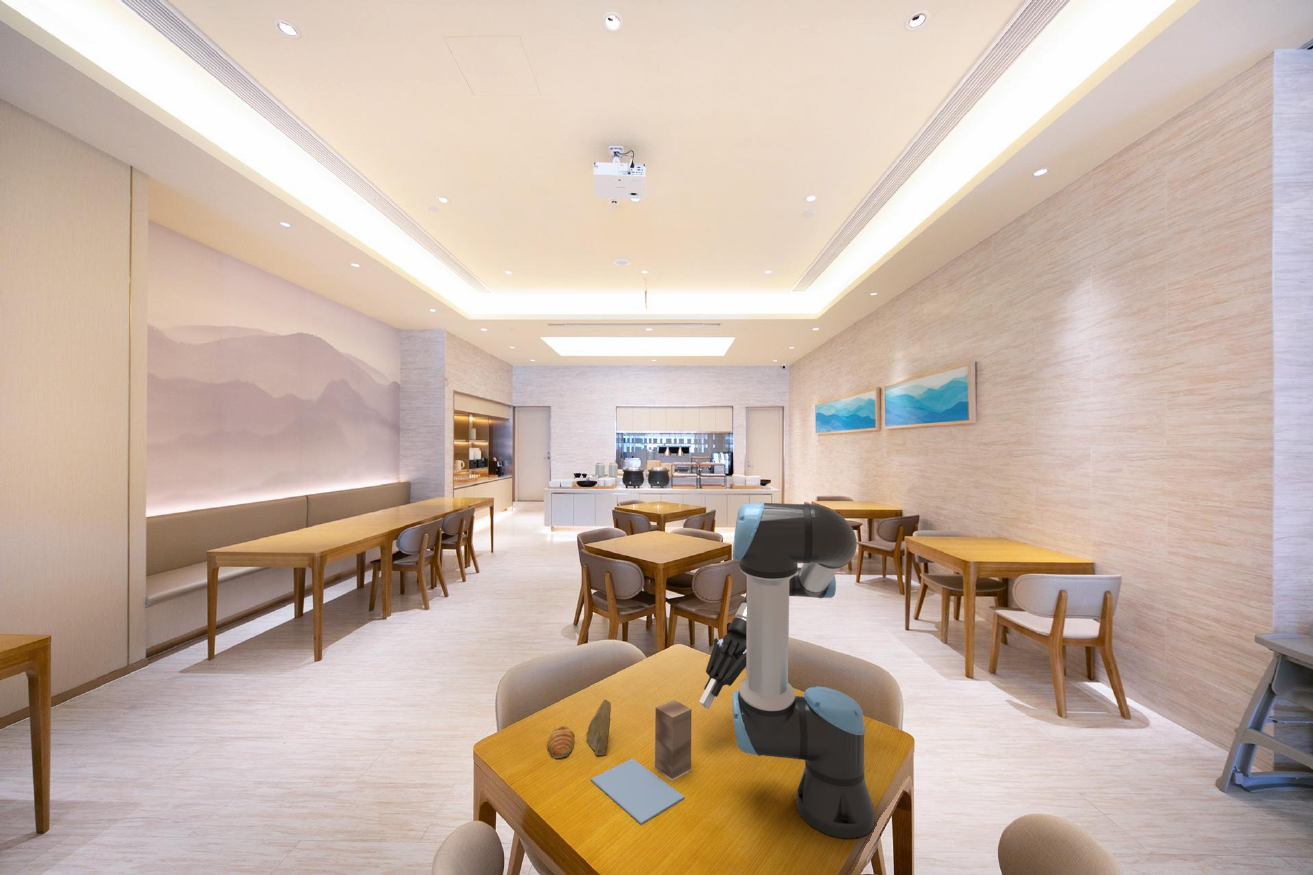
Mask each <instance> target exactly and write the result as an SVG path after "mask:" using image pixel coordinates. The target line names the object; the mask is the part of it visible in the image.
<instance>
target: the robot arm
mask: <svg viewBox="0 0 1313 875" xmlns="http://www.w3.org/2000/svg"><path fill="white" fill-rule="evenodd" d="M733 538H734V539H733V545H732V556H731V557H732V559H733V561H736V562H738V563H739V564H738V565H739V570H740V572H741V573H742V574H744V575H745V577H746V594H745V596H744V598H743V601H742V602H741V604H740V606H739V607H738V609H737V611H736V613H734V618H732V620H731V622H730V624H729V626H728V628H727V633H726V634H725V635H724V636H723V638H721V639H718V638H714V639H713V646H712V650H711V654H710V657H709V659H708V661H707V662H708V663H707V666H706V669H705V673H706V674H707V676H708V680H707V682H706V683H705V686H704V687H703V689H704V691H703V693H702V695H701V697H700V699H699V701H698V703H699V704H700V705H702V707H704V708H705V709H707V710H710V708H711V705H712V703H713V701H714V699H715V697H716V698H718V697H719V694H720V692H721V691H722V689H723V687H724V686H728V687H731V686H732V685H733V684H734V683H735V681H736V680H737V678H738V677H739V676H740V674H741V673H742V672H743V671H744V670H745V668H746V670H745V671H746V673H745V674H746V675H745V676H746V677H745V678H744V679H742V681H741V682H740V684H739V687H738V689H737V690H735V691H733V692H732V715H733V727H734V728H733V729H734V735H735V739H736V740H735V741H736V745H737V747H738V748H739V750H740V751H741V752H743V753H744V754H750V755H755V756H758V757H762V756H765V757H775V758H784V759H793V760H803V761H804V770H803V773H802V775H801V777H800V780H799V784H798V786H797V789H796V790H797V791H796V807H797V811H798V814H799V815H800V816H801V817H802V819H803V820H804V821H805V822H806V823H807V824H808V825H809V826H811V827H813V828H814V829H815V830H817V831H819V832H821V833H824V834H825V835H828V836H832V837H835V838H840V839H841V838H842V839H857V838H856V837H858V838H862V837H864V836H866V835H868V834H869V833H870V832H872V830H873V829H874V827H875V808H874V805H873V802H872V799H871V795H870V791H869V789H868V786H867V782H866V778H865V733H866V728H865V721H864V712H863V710H862V708H861V706H860V704H859V703H858V702H857V701H856V700H855V699H854V698H852V697H851V696H849V695H847V694H846V693H844V692H842V691H839V690H837V689H834V688H830V687H825V686H813V687H812V686H811V687H808V688H807V689H805V691H804V693H803V696H798V695H796V691H795V689H794V688H793V686H792V685H791V683H789V638H790V637H789V636H790V635H789V634H790V633H789V631H790V630H789V629H790V628H789V626H790V623H789V622H790V619H789V618H790V597H800V598H802V597H803V598H816V599H817V598H818V599H832V598H834V597H835V595H836V589H837V582H836V574H837V572H838V571H839V570H840V569H842V568H844V567H845V566H847V565H849V563H850V562H851V561H852V560H853V558H854V556H855V554H856V552H857V546H858V540H857V537H856V533H855V530H854V528H853V527H852V526H851V524H850V523H849V521H848V520H847V519H846V518H844V517H843V515H841V514H839V513H838V512H837V511H835V510H834V509H831V508H829V507H827V506H824V505H820V504H815V503H806V504H804V503H803V504H802V503H777V502H763V501H761V502H754V503H752V502H751V503H744V504H742V505H740V507H739V509H738V510H737V516H736V522H735V528H734V537H733ZM799 564H802V566H801V567H800V566H799V567H798V565H799Z"/></svg>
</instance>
